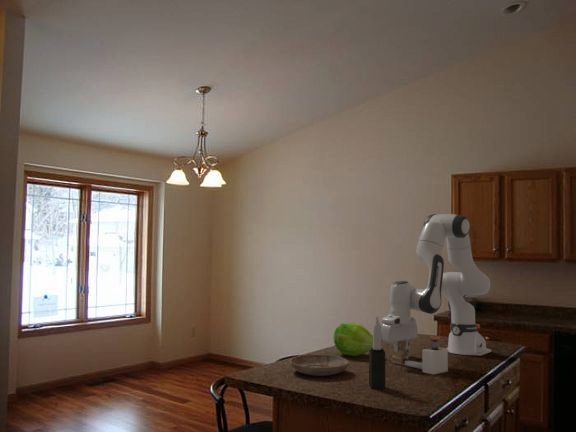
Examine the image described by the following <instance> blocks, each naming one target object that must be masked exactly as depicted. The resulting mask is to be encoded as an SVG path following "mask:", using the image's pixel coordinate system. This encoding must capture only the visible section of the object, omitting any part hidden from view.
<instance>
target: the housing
mask: <svg viewBox="0 0 576 432" xmlns="http://www.w3.org/2000/svg"><path fill="white" fill-rule="evenodd" d="M421 350H422V351H421V354H422V355H421V357H422V358H421V359H422V361H421V363H422V369H421V370H422V373H425V374H430V375H437V374H442V373H447V372H448V369H449V368H448V367H449V365H448V363H449V362H448V360H449V357H448V356H449V355H448V354H449V352H448V349H446V348H445V347H440V346H439V350H431V347H430V348H425V349H421Z"/></svg>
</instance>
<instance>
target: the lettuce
mask: <svg viewBox="0 0 576 432" xmlns="http://www.w3.org/2000/svg"><path fill="white" fill-rule="evenodd" d="M333 343H334V346H335V347H336V349H337V350H338V352H340V354H342V355H344V356H349V357H359V356H362V355H364V354H366V353H367V352H369V350H371V348H373V333H371V332H370V331H369V330H368V329H367V328H366V327H365V326H364V325H362V324H360V323H356V322H344V323H343V322H342V323H340V324H339V325H338V326H337V327H336V328H335V330H334V333H333Z"/></svg>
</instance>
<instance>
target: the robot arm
mask: <svg viewBox="0 0 576 432" xmlns="http://www.w3.org/2000/svg"><path fill="white" fill-rule="evenodd" d="M423 221H424V222H423V228H422V230H421V233H420V235H419V238H418V241H417V244H416V252H415V253H416V256H417V257H418V259H419V260H420V262H422V263H424V264H425V265H426V266H427V267H428V270H429V271H428V272H429V273H428V280H427V286H426V288H425V289H424V288H417V287H416V286H413V285H412V284H411V283H409V282H408V281H407V280H398V281H394V282H393V283H392V284H391V285H390V286H391V287H390V290H389V291H390V292H389V302H390V309H389V314H387V315H386V316H384V317H382V319H381V323H382V325H381V341H383V342H385V343H391V344H392V346H393V351H396V352H397V351H399V347H398V346H397V344H398V341H401V340H403V341H404V342H406V350H407V345H408V342H409V339H410V340H414V339H417V338H418V336H419V334H418V333H419V332H418V325H417V320H416V318H415V317H412V315H411V314H412V313H411V310H413V311H416V312H417V311H418V312H422V313H426V314H429V315H431V314H436V313H437V312H438V311H439V310H440V308H441V306H442V294H443V296H444V297H445V298H446V300H447V301H448V303H449V306H450V315H451V320H450V321H451V322H450V326H449V329H450V333H449V334H448V341H447V343H448V345H447V347H446V348H445V349H448V353H450V354H456V355H462V356H463V355H464V356H481V357H482V356H483V355H486V354H488V353H491V352H492V349H490V348H487V342H486V339H485V338H484V336H483V335H481V334H480V333H479V331H478V329H480V328H481V325H480V324H479V323H476V309H475V307H474V305H472V304H471V303H470V302H469V301H466V300H465V298H464V297H463V296H482V295H486V294H488V293H489V292H490V289H491V280H490V278H489V276H488V275H486V274H485V273H483V272H482V271H481V270H480V269H479V268H478V266H477V265H476V263H475V261H474V259H473V254H472V245H471V238H470V235H469V233H470V230H471V222H470V220H469V219H468V217H467V216H465V215H462V214H455V213H454V214H453V213H443V214H442V213H439V214H436V213H434V214H429V215H428V216H427V217H426V218H424V220H423ZM445 240H446V251H447V259H448V262H449V264H451V266H453V267H455V268H457V269H458V270H459V271H446V272H444V269H445V263H444V258H443V256H442V255H443V253H442V252H443V248H444V245H445Z"/></svg>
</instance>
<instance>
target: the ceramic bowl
mask: <svg viewBox="0 0 576 432" xmlns="http://www.w3.org/2000/svg"><path fill="white" fill-rule="evenodd" d="M349 363H350V362H349V360H348V359H346V358H344V357H342V356H338V355H329V354H307V355H299V356H294V357H292V358H291V359H290V361H289V364H290V366H291V367H292V368H293V369H294V370H295V371H297V372H299V373H301V374H304V375H308V376H316V377H328V376H333V375H336V374H337V375H338V374H340V373H342V372H344V371H345V370H346V369H347V368H348V367H349Z"/></svg>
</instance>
